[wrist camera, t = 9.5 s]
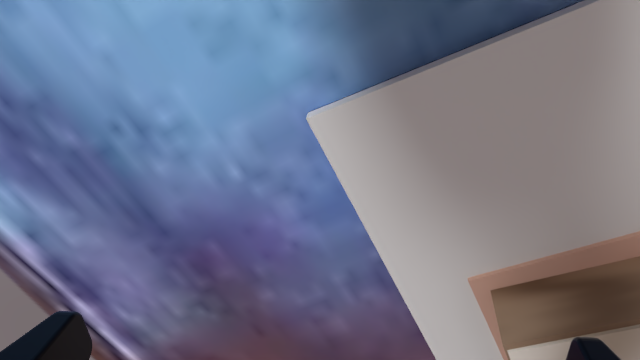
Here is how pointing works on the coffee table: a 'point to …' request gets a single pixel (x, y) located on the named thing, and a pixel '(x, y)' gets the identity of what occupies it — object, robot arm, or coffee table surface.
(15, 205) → the coffee table surface
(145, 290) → the coffee table surface
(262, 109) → the coffee table surface
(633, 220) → the mat
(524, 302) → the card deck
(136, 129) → the coffee table surface
